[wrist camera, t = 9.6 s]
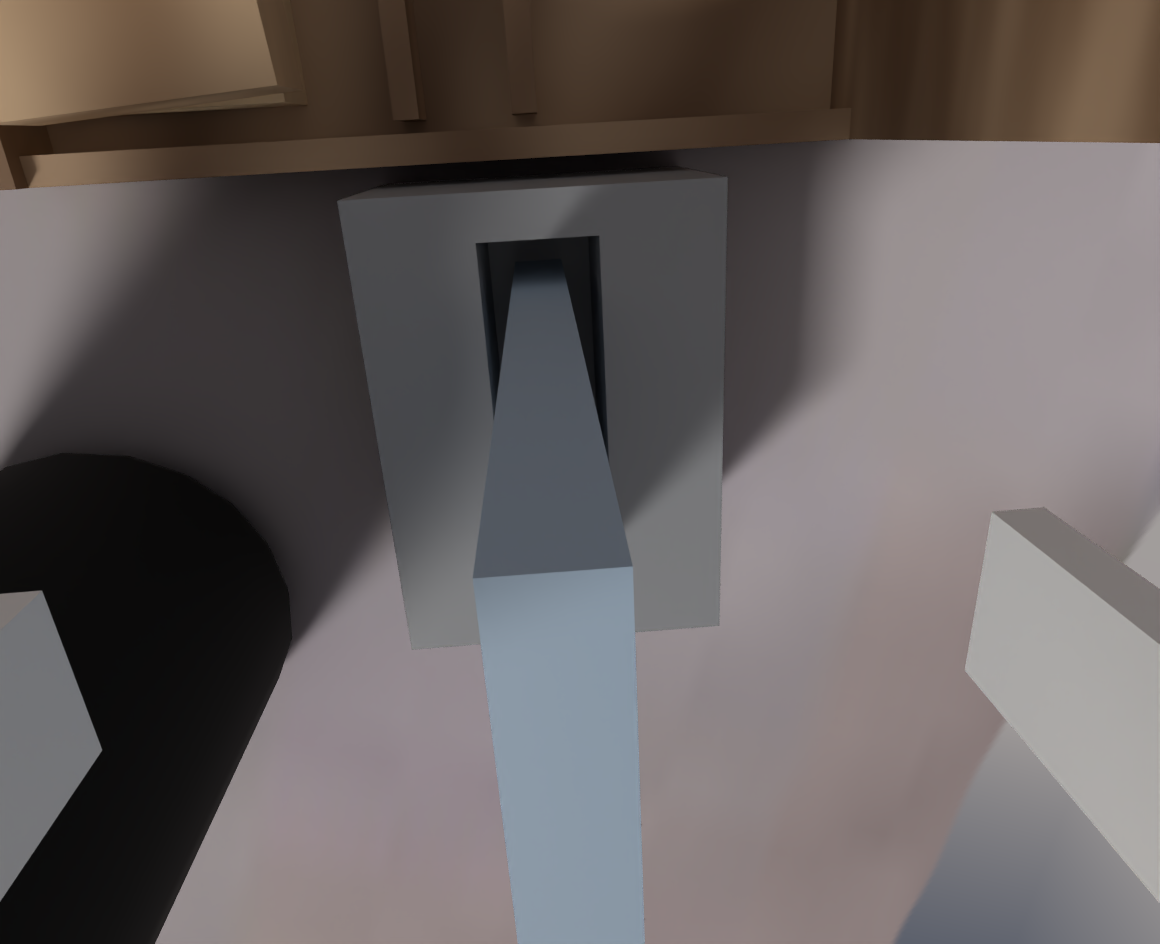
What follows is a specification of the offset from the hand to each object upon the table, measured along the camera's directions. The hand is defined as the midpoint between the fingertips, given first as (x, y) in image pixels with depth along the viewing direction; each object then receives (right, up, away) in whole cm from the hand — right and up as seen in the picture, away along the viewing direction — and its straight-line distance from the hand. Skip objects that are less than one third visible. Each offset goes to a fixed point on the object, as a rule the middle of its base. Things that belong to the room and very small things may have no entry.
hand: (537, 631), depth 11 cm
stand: (0, +5, +13) cm, 14 cm away
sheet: (0, +5, +11) cm, 12 cm away
